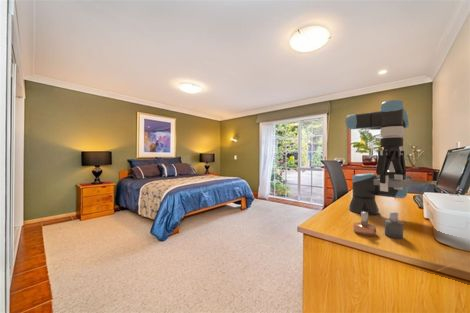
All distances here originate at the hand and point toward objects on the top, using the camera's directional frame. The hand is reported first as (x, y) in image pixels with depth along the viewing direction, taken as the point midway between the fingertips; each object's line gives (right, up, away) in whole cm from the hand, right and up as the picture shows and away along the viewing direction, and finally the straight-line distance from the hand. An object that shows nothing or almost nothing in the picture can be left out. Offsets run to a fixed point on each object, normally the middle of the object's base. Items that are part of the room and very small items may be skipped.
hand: (391, 190), depth 82 cm
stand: (+1, -19, 0) cm, 19 cm away
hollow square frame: (0, +2, 0) cm, 2 cm away
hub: (-9, -19, +3) cm, 22 cm away
